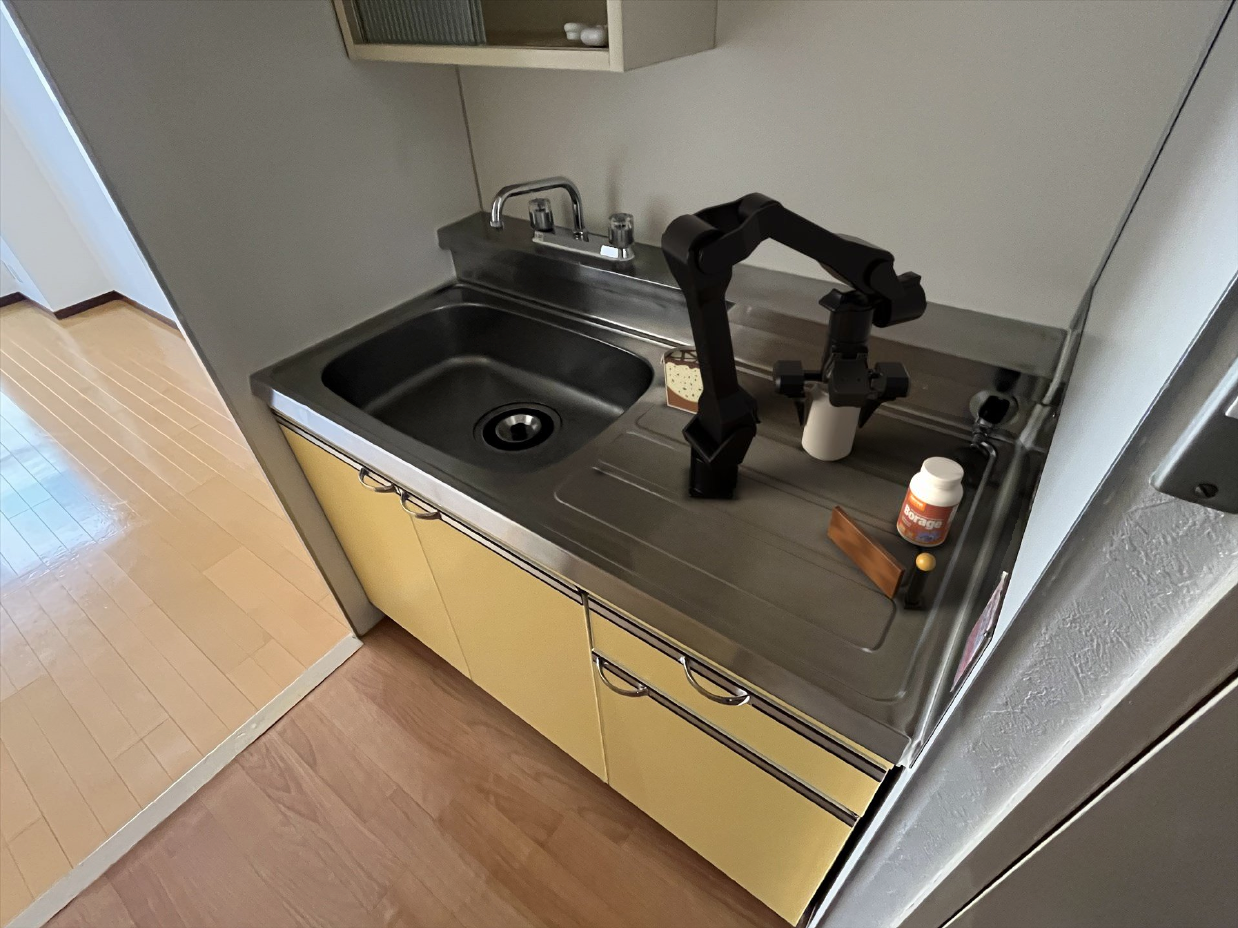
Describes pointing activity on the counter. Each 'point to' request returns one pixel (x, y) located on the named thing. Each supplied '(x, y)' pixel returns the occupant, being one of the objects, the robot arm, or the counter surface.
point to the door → (866, 552)
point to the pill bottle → (931, 502)
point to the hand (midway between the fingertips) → (830, 426)
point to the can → (828, 426)
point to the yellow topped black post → (918, 582)
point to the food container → (682, 378)
